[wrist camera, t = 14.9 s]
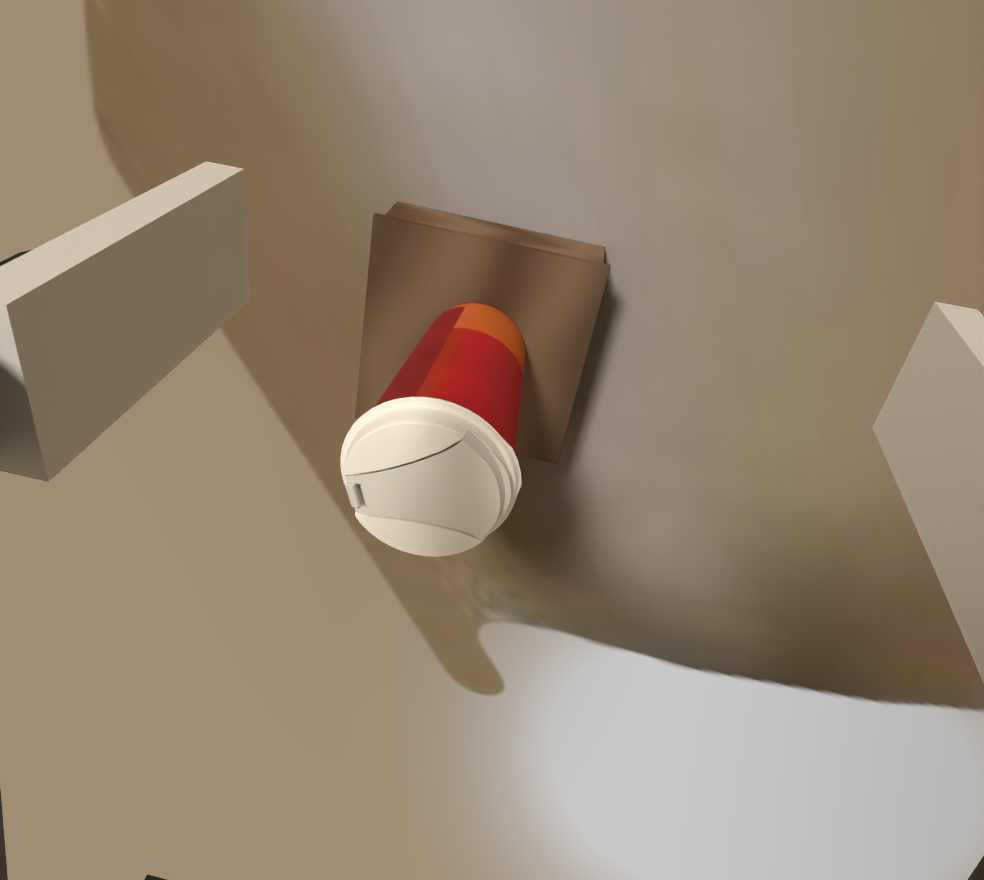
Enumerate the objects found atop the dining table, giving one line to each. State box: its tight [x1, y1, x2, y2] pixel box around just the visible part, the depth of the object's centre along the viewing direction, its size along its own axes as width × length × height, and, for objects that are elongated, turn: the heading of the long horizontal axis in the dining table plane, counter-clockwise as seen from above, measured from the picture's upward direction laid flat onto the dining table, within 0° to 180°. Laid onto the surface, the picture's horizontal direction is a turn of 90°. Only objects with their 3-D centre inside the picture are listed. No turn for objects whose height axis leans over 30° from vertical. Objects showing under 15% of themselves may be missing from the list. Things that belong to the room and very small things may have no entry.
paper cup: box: [341, 303, 525, 557], centre depth 38 cm, size 8×8×14 cm
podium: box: [355, 202, 610, 464], centre depth 45 cm, size 13×13×4 cm
